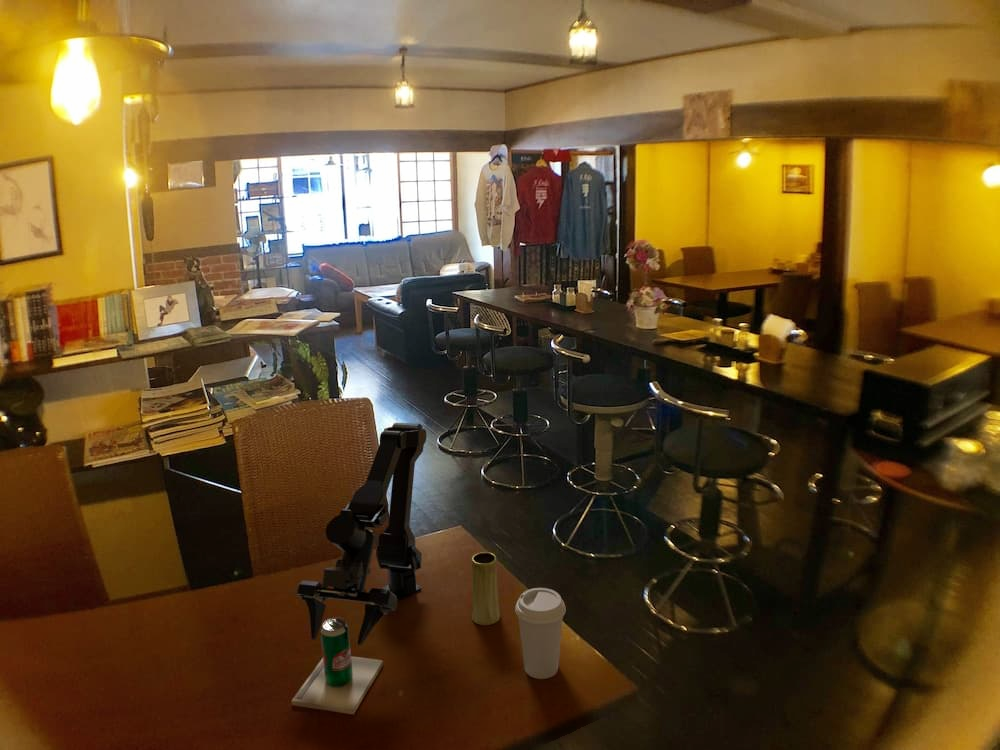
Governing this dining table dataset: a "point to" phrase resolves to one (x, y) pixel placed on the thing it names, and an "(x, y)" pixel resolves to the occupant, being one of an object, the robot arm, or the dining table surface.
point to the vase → (485, 589)
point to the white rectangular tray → (342, 697)
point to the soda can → (336, 651)
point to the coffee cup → (540, 630)
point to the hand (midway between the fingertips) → (336, 642)
